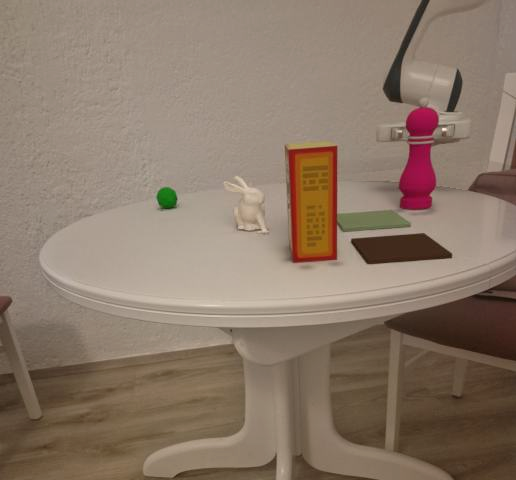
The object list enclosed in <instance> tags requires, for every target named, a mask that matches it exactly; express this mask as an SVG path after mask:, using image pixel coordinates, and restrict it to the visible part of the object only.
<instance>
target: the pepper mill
mask: <svg viewBox="0 0 516 480" xmlns="http://www.w3.org/2000/svg"><path fill="white" fill-rule="evenodd" d="M428 103H429V102H428V100H427V98H422V99H421V100H420V101H419V107H417V108H414V109H413V110H412V111H411V112H410V113H408V115H407V117H406V120H405V122H406V129H407V131H408V132H409V134H410V136H408V142H406V144H407V145H408V151H409V152H408V157H407V158H408V159H407V162H406V164H405V167H404V169H403V171H402V173H401V175H400V177H399V181H398V189H399V191H400V193H401V194H402V195H403V196H401V197H400V201H399V206H400V208H402V209H404V210H425V209H429V208H431V207H433V196H431V194H432V193H433V192H434V190H435V189H436V187H437V176H436V172H435V170H434V166H433V163H432V158H431V153H432V152H431V151H432V147H431V145H432V143H433V142H434V137H435V135H432V134H433V132H434V131H435V129H436V128H437V127H438V123H439V118H438V114H437V112H436V111H435V110H434V109H432V108H428V107H427V106H428Z"/></svg>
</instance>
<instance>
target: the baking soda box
mask: <svg viewBox="0 0 516 480" xmlns="http://www.w3.org/2000/svg"><path fill="white" fill-rule="evenodd" d="M284 159H285V179H286V180H285V183H286V184H285V185H286V206H287V208H286V209H287V230H288V231H287V232H288V248H289V251H290V256H291V261H292V264H293V263H295V264H296V263H308V262H322V261H335V260H336V261H337V260H338V224H337V214H338V145H336V144H334V143H333V142H331V141H329V140H320V141H318V140H317V141H308V142H307V141H306V142H305V141H304V142H296V143H295V142H294V143H285V144H284Z"/></svg>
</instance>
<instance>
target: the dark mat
mask: <svg viewBox="0 0 516 480" xmlns="http://www.w3.org/2000/svg"><path fill="white" fill-rule="evenodd" d="M350 243H351V244H352V245H353V246H354V248H355V249H356V251H357V252H358V253H359V254H360V256H361V257H362V258H363V260H364V261H365V262H366V263H367V265H372V264H387V263H388V264H389V263H398V262H412V261H424V260H426V261H427V260H441V259H452V258H453V253H452V252H451V251H449V250H448V249H447V248H446V247H444V246H443V245H441V244H440V243H438V242H437V241H436V240H434V239H433V238H431V237H430V236H429V235H428V234H426V233H425V232H420V233H407V234H405V233H404V234H392V235H380V236H368V237H355V238H354V237H353V238H351V239H350Z"/></svg>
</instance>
